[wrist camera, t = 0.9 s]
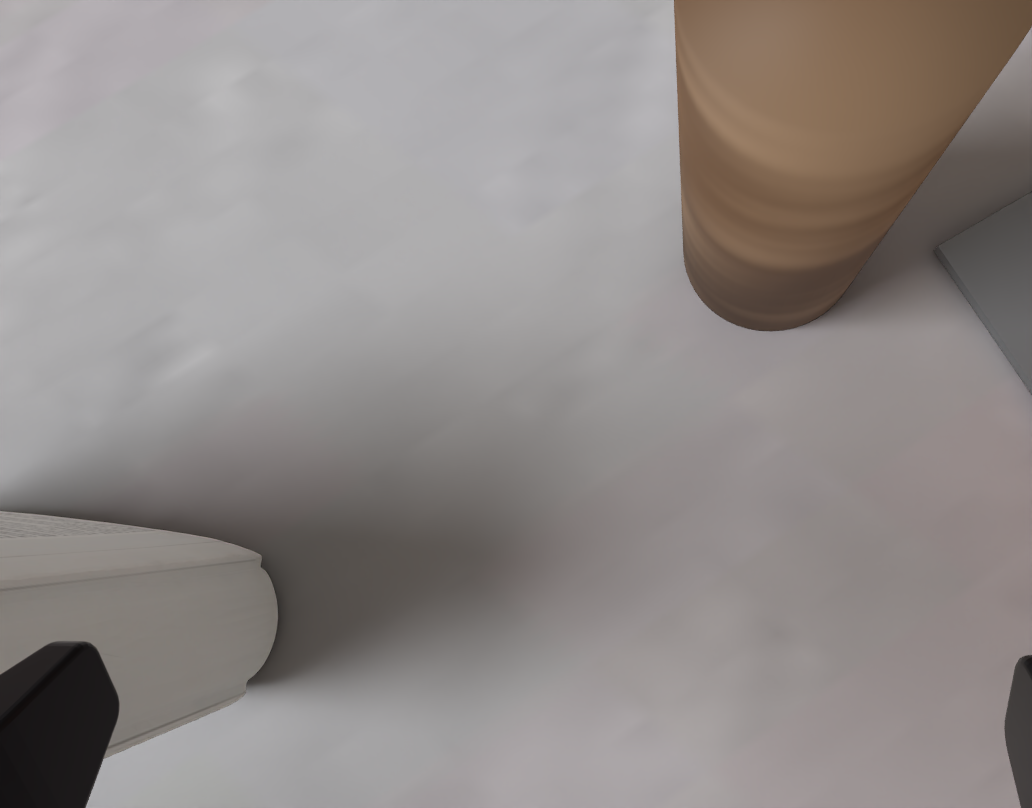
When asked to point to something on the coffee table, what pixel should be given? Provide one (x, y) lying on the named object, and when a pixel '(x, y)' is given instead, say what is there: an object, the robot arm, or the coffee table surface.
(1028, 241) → the mat
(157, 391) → the coffee table surface
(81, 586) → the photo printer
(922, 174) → the walnut peg
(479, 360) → the coffee table surface
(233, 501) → the coffee table surface
